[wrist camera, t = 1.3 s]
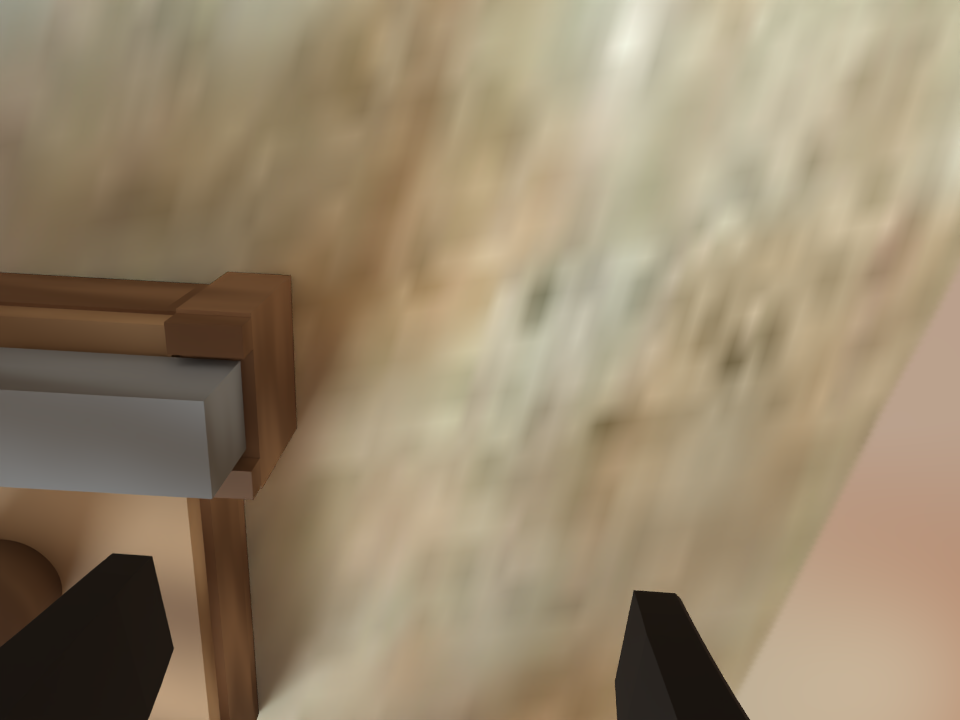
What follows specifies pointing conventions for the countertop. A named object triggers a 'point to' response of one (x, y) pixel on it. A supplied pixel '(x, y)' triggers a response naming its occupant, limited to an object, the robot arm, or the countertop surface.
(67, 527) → the lid
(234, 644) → the long low wooden box
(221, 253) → the countertop surface
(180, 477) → the gray rectangular box
